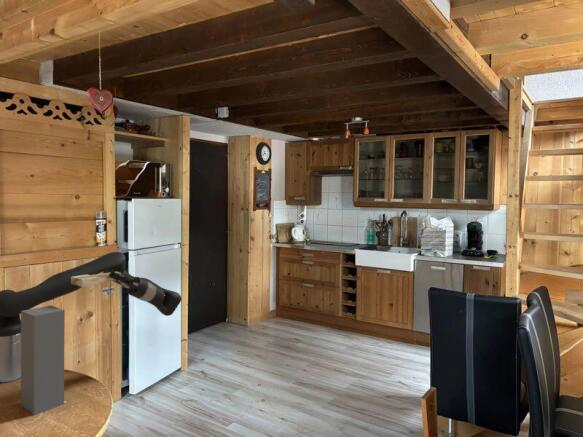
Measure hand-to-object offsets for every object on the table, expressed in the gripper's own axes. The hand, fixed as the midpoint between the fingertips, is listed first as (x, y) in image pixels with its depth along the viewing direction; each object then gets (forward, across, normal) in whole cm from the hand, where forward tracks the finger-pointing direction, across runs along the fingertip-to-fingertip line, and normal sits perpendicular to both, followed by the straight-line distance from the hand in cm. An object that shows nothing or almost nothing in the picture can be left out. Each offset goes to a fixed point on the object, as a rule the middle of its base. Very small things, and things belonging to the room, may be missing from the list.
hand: (108, 273), depth 162 cm
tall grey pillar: (0, 0, +48) cm, 48 cm away
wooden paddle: (+2, 0, +4) cm, 5 cm away
